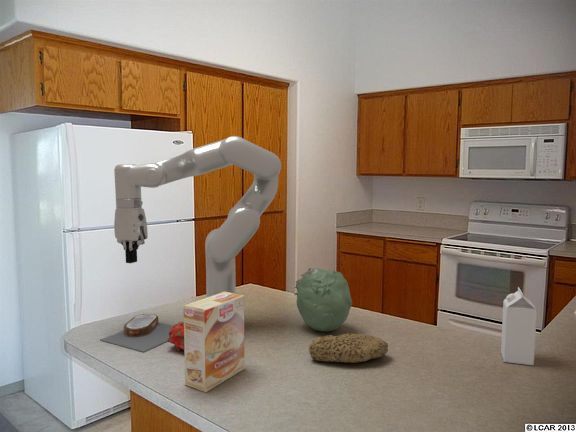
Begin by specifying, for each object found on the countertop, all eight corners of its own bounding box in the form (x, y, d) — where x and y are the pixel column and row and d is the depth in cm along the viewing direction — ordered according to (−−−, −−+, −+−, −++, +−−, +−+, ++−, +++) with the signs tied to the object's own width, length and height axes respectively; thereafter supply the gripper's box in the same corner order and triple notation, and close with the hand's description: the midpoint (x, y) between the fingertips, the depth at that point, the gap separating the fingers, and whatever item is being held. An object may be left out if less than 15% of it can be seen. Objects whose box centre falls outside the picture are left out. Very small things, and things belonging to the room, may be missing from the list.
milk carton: (529, 355, 125) (532, 288, 123) (533, 366, 118) (537, 294, 116) (500, 352, 127) (503, 285, 125) (503, 362, 120) (507, 292, 118)
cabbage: (343, 343, 134) (344, 276, 132) (285, 333, 142) (285, 270, 140) (359, 326, 148) (360, 266, 146) (305, 318, 156) (306, 261, 154)
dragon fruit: (168, 350, 132) (204, 361, 129) (156, 342, 125) (194, 354, 122) (179, 322, 136) (215, 332, 133) (169, 313, 129) (206, 324, 125)
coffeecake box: (206, 393, 104) (204, 309, 102) (183, 385, 108) (181, 304, 106) (246, 369, 116) (245, 294, 115) (224, 362, 120) (223, 290, 118)
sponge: (309, 370, 119) (386, 364, 113) (305, 339, 120) (380, 332, 114) (322, 359, 131) (391, 353, 125) (317, 332, 132) (386, 325, 126)
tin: (119, 337, 138) (147, 339, 138) (119, 326, 137) (147, 329, 137) (136, 320, 153) (161, 322, 153) (137, 311, 152) (162, 313, 152)
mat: (191, 330, 144) (191, 329, 144) (143, 352, 127) (143, 351, 127) (150, 321, 153) (150, 320, 153) (100, 340, 136) (99, 339, 136)
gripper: (155, 204, 141) (158, 262, 143) (121, 202, 148) (123, 258, 150) (137, 205, 134) (140, 266, 136) (102, 204, 141) (105, 262, 143)
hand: (131, 262), depth 143 cm, fingers closed
